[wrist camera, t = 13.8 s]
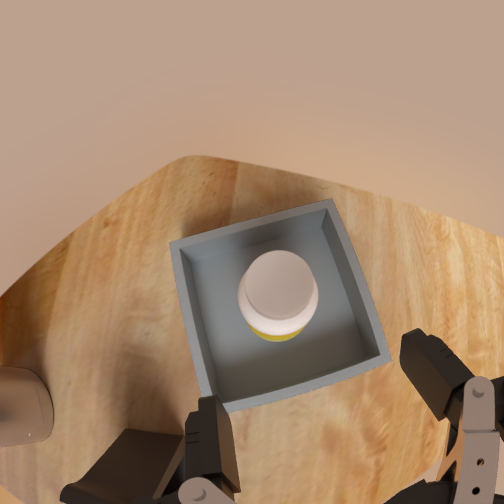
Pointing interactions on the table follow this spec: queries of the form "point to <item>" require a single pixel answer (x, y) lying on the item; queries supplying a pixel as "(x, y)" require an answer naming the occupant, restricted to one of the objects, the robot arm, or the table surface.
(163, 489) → the phone stand
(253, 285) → the supplement bottle
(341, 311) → the bin
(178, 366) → the table surface
